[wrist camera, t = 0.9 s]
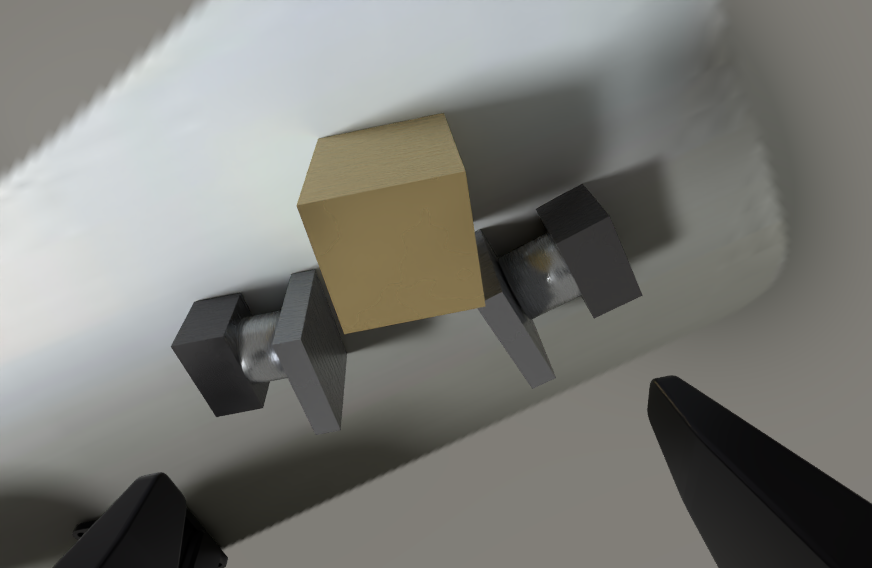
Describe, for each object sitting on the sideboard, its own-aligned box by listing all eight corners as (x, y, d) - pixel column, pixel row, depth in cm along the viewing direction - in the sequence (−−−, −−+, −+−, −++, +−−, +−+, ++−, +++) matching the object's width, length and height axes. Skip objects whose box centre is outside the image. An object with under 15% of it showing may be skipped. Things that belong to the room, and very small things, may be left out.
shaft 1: (508, 318, 23) (532, 388, 19) (458, 241, 20) (475, 305, 17) (616, 264, 22) (664, 328, 18) (578, 175, 19) (624, 229, 16)
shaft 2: (236, 375, 23) (209, 455, 20) (189, 294, 21) (148, 368, 17) (346, 354, 23) (340, 430, 20) (314, 269, 20) (300, 339, 17)
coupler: (352, 246, 20) (344, 334, 16) (318, 138, 18) (296, 205, 13) (461, 224, 20) (485, 306, 15) (443, 112, 17) (465, 171, 13)
